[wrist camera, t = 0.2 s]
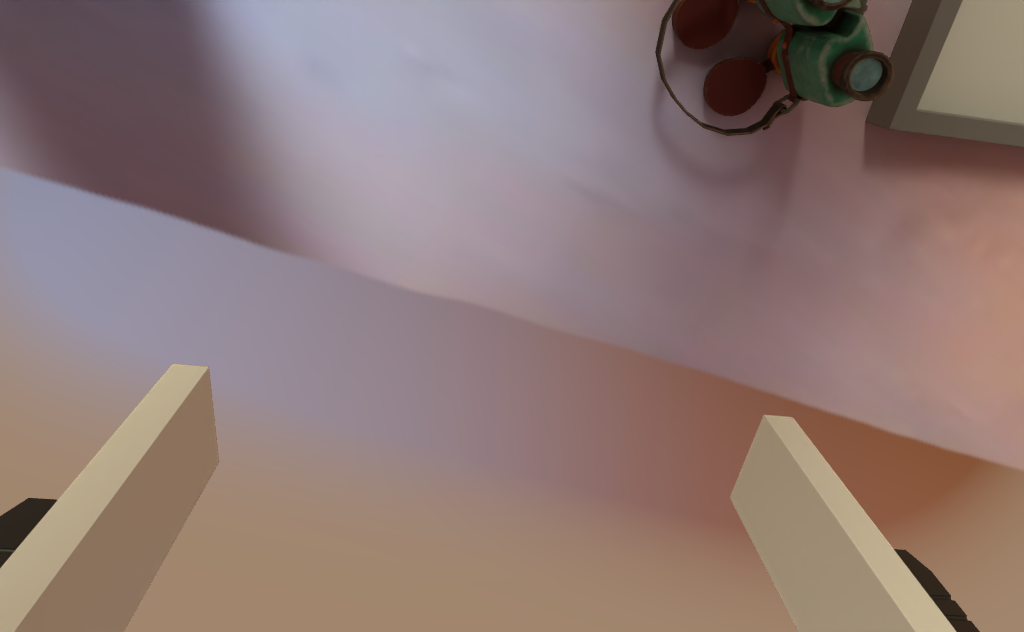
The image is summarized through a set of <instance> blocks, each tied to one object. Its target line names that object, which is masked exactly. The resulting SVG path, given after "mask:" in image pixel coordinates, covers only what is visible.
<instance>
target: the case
mask: <svg viewBox="0 0 1024 632" xmlns="http://www.w3.org/2000/svg"><path fill="white" fill-rule="evenodd" d="M890 60H891V61H892V63H893V66H894V72H895V74H894V79H893V82H892V84H891V86H890V87H889V89H888V90H887V91H886V92H885V93H884V94H883V95H882V96H880V97H879V98H876V99H874V101H873V104H872V106H871V109H870V111H869V114H868V117H867V119H866V122H869V123H872V124H875V125H878V126H882V127H885V128H888V129H894V130H901V131H909V132H916V133H923V134H931V135H938V136H945V137H953V138H960V139H967V140H975V141H982V142H990V143H997V144H1004V145H1012V146H1019V147H1024V0H913V1H912V4H911V7H910V9H909V12H908V14H907V17H906V19H905V22H904V24H903V27H902V30H901V32H900V35H899V37H898V40H897V42H896V45H895V47H894V50H893V53H892V55H891V58H890Z"/></svg>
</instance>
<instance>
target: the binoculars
mask: <svg viewBox="0 0 1024 632" xmlns="http://www.w3.org/2000/svg"><path fill="white" fill-rule="evenodd" d="M745 1H747V2H748V3H751V4H757V5H758V6H759V8H760V9H761V11H762V12H763V13H764V14H765V15H767V16H768V17H770V18H772V19H773V22H774V23H778V22H779V23H781V24H782V25H783V26H784V27H785V29H784V30H783V31H782V32H781V33H780V34H779V35H778V36H777V37H776V38H775V40H774V41H773V43H772V45H771V46H770V49H769V51H768V56H767V60H765V61H763V62H761V63H758V62H757V61H754V60H751V59H747V58H740V57H739V58H730V59H726V60H723V61H721V62H719V63H718V64H716V65H715V66H714V67H713V68H712V69H711V70H710V71H709V73H708V75H707V76H706V79H705V82H704V87H703V91H704V97H705V100H706V102H707V104H708V105H709V106H710V107H711V108H712V109H713V110H714V111H715V112H717V113H719V114H721V115H724V116H735V115H739V114H741V113H744V112H745V111H747V110H748V109H750V108H751V107H752V106H753V105H754V104H755V103H756V102H757V100H758V99H759V98H760V96H761V94H762V92H763V91H764V88H765V85H766V80H767V74H766V73H768V72H770V71H772V70H773V71H774V72H776V73H779V74H782V77H783V82H784V85H785V87H786V89H787V90H788V91H789V92H790V94H789V95H786V96H784V97H783V98H781V99H779V100H778V101H776V102H774V103H773V106H772V107H771V108H770V109H769V111H768V112H767V113H766V115H765V116H764V117H763V119H762V120H761V121H759V122H757V123H755V124H753V125H751V126H749V127H747V128H742V129H728V130H723V129H720V128H717V127H713V126H710V125H707V124H704V123H701V122H700V121H698V120H697V119H696V118H695V117H693V116H692V115H691V114H690V113H688V112H687V111H686V110H685V109H684V107H683V106H682V105H681V104H680V102H679V101H678V100H677V99H676V97H675V95H674V93H673V92H672V90H671V88H670V86H669V85H668V83H667V81H666V78H665V73H664V69H663V64H662V60H661V55H660V54H661V49H662V45H663V40H664V35H665V30H666V25H667V22H668V20H669V18H670V17H671V15H672V14H673V15H672V24H673V28H674V31H675V33H676V34H677V36H678V37H679V39H680V40H681V41H682V42H683V43H684V44H685V45H686V46H688V47H690V48H693V49H705V48H709V47H711V46H713V45H715V44H717V43H718V42H719V41H721V40H722V39H723V38H724V37H725V36H726V34H727V33H728V32H729V31H730V29H731V28H732V26H733V24H734V22H735V20H736V17H737V15H738V10H739V3H738V0H674V1H673V3H672V4H671V6H670V8H669V9H668V11H667V13H666V14H665V16H664V18H663V19H662V23H661V28H660V32H659V37H658V42H657V47H656V52H655V53H656V57H657V62H658V67H659V71H660V76H661V79H662V81H663V83H664V84H665V86H666V88H667V90H668V91H669V93H670V95H671V97H672V98H673V99H674V100H675V102H676V103H677V104H678V105H679V107H680V108H681V109H682V110H683V111H684V112H685V113H686V114H687V115H688V116H689V117H690V118H692V119H693V120H694V121H695V122H697V123H698V124H699V125H700V126H702V127H703V128H705V129H708V130H711V131H715V132H718V133H721V134H724V135H727V136H730V135H745V134H752V133H754V132H756V131H758V130H760V129H762V128H763V130H766V129H768V128H769V127H770V125H771V124H772V122H773V121H774V119H775V118H777V117H779V116H781V115H783V114H787V113H789V112H790V111H791V110H792V109H793V108H795V107H796V106H797V105H798V103H799V102H800V100H802V101H805V100H810V101H813V102H816V103H819V104H822V105H826V106H829V107H840V106H843V105H846V104H848V103H850V102H852V101H854V100H859V101H870V100H874V99H876V98H879V97H880V96H882V95H883V94H884V93H885V92H886V91H887V90H888V89H889V87H890V86H891V84H892V82H893V79H894V74H895V72H894V66H893V63H892V61H891V60H890V58H889V57H888V56H886V55H885V54H883V53H880V52H876V51H873V44H872V40H871V35H870V31H869V28H868V26H867V23H866V20H865V18H864V17H863V14H864V12H865V11H866V10H867V5H866V1H867V0H745ZM787 22H788V23H792V24H793V25H790V24H788V23H787ZM786 99H789V100H790V101H791V102H793V104H792V105H791V106H790V107H789V108H787V107H786V105H784V104H782V103H781V102H783V101H785V100H786Z"/></svg>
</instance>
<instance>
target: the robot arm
mask: <svg viewBox="0 0 1024 632" xmlns="http://www.w3.org/2000/svg"><path fill="white" fill-rule="evenodd" d="M218 463H219V457H218V448H217V438H216V429H215V419H214V410H213V401H212V392H211V382H210V373H209V367H205V366H193V365H181V364H172V365H171V366H170V367H169V369H168V370H167V371H166V372H165V373H164V375H163V376H162V377H161V378H160V379H159V381H158V382H157V383H156V384H155V385H154V386H153V388H152V389H151V390H150V391H149V392H148V394H147V395H146V396H145V397H144V398H143V400H142V401H141V402H140V403H139V405H137V407H136V408H135V409H134V410H133V411H132V413H131V414H130V415H129V416H128V417H127V418H126V420H125V421H124V422H123V423H122V424H121V426H120V427H119V428H118V429H117V430H116V432H115V433H114V434H113V435H112V436H111V437H110V439H109V440H108V441H107V442H106V443H105V445H104V446H103V447H102V448H101V449H100V451H99V452H98V453H97V454H96V455H95V456H94V458H93V459H92V460H91V461H90V463H89V464H88V465H87V466H86V467H85V468H84V470H83V471H82V472H81V473H80V474H79V476H78V477H77V478H76V479H75V480H74V481H73V483H72V484H71V485H70V486H69V487H68V489H67V490H66V491H65V492H64V493H63V495H62V496H61V497H60V498H59V499H58V500H54V499H38V498H37V499H36V498H28V499H26V500H25V501H23V502H22V503H20V504H19V505H17V506H16V507H14V508H13V509H11V510H9V511H8V512H6V513H5V514H3V515H2V516H0V632H124V631H125V629H126V627H127V625H128V624H129V622H130V620H131V618H132V616H133V615H134V613H135V611H136V609H137V608H138V606H139V604H140V602H141V600H142V599H143V597H144V595H145V593H146V591H147V590H148V588H149V586H150V584H151V583H152V581H153V579H154V577H155V575H156V574H157V572H158V570H159V568H160V566H161V565H162V563H163V561H164V559H165V558H166V556H167V554H168V552H169V550H170V548H171V547H172V545H173V543H174V542H175V540H176V538H177V536H178V534H179V533H180V531H181V529H182V527H183V525H184V523H185V522H186V520H187V518H188V516H189V515H190V513H191V511H192V509H193V508H194V506H195V504H196V502H197V501H198V499H199V497H200V495H201V493H202V492H203V490H204V488H205V486H206V484H207V483H208V481H209V479H210V477H211V475H212V474H213V472H214V470H215V468H216V467H217V465H218ZM730 499H731V501H732V503H733V505H734V507H735V508H736V511H737V513H738V515H739V517H740V519H741V521H742V522H743V524H744V526H745V528H746V530H747V532H748V534H749V536H750V538H751V540H752V542H753V544H754V546H755V548H756V550H757V552H758V554H759V556H760V558H761V560H762V562H763V563H764V565H765V567H766V569H767V571H768V573H769V575H770V577H771V579H772V581H773V583H774V585H775V587H776V589H777V591H778V593H779V595H780V597H781V599H782V601H783V603H784V604H785V606H786V608H787V610H788V612H789V614H790V616H791V618H792V620H793V622H794V624H795V626H796V627H797V630H798V632H979V631H978V629H977V628H976V627H975V625H974V624H973V623H972V622H971V621H968V620H967V618H966V617H967V615H966V614H965V613H964V612H963V611H962V609H961V608H960V607H959V605H958V604H957V603H956V602H955V601H953V600H951V595H950V594H949V593H948V592H947V590H946V589H945V588H944V587H943V585H942V584H941V583H940V582H939V581H938V579H937V578H936V577H935V575H934V574H933V573H932V572H931V571H930V570H929V569H928V568H927V567H925V566H924V565H923V564H922V563H920V562H919V561H918V560H917V559H916V558H914V557H913V556H912V555H911V554H910V553H909V552H907V551H906V550H898V549H893V548H892V547H891V545H890V544H889V543H888V541H887V540H886V539H885V537H884V536H883V535H882V533H881V532H880V531H879V530H878V528H877V527H876V526H875V524H874V523H873V522H872V520H871V519H870V518H869V517H868V515H867V514H866V513H865V511H864V510H863V509H862V507H861V506H860V505H859V503H858V502H857V501H856V499H855V498H854V497H853V495H852V494H851V493H850V492H849V490H848V489H847V488H846V487H845V485H844V484H843V482H842V481H841V480H840V478H839V477H838V476H837V475H836V473H835V472H834V471H833V469H832V468H831V467H830V465H829V464H828V463H827V461H826V460H825V459H824V458H823V456H822V455H821V454H820V453H819V451H818V450H817V448H816V447H815V446H814V445H813V443H812V442H811V441H810V439H809V438H808V437H807V435H806V434H805V433H804V431H803V430H802V429H801V427H800V426H799V425H798V423H797V422H796V421H795V420H794V418H793V417H784V416H772V415H764V416H763V418H762V420H761V423H760V425H759V428H758V430H757V432H756V435H755V437H754V440H753V442H752V445H751V447H750V449H749V452H748V454H747V457H746V459H745V462H744V464H743V466H742V469H741V471H740V474H739V476H738V479H737V481H736V483H735V486H734V488H733V491H732V493H731V496H730Z"/></svg>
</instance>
